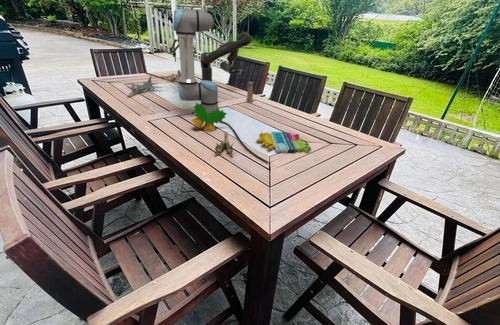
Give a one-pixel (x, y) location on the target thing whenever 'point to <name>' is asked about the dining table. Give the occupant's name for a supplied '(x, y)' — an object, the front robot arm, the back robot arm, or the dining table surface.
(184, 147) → the dining table surface
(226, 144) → the jawbone
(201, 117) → the ornament
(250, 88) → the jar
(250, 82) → the lid
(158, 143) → the dining table surface
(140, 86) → the airplane
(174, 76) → the toy
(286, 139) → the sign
